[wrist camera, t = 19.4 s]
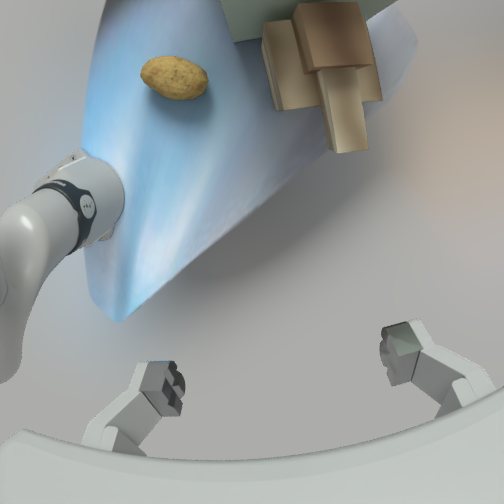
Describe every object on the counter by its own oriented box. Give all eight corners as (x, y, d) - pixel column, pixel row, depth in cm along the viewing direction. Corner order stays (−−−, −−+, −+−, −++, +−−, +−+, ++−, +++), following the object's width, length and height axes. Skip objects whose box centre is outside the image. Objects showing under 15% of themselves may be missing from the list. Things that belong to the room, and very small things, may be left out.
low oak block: (275, 110, 43) (284, 110, 30) (261, 48, 38) (263, 22, 25) (346, 101, 42) (382, 100, 28) (333, 41, 37) (364, 17, 24)
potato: (198, 109, 43) (190, 109, 37) (141, 86, 41) (127, 84, 35) (218, 74, 40) (212, 69, 35) (159, 51, 38) (146, 44, 32)
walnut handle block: (317, 149, 32) (330, 158, 26) (290, 20, 25) (297, 3, 19) (366, 143, 31) (386, 151, 26) (341, 17, 24) (357, 2, 19)
